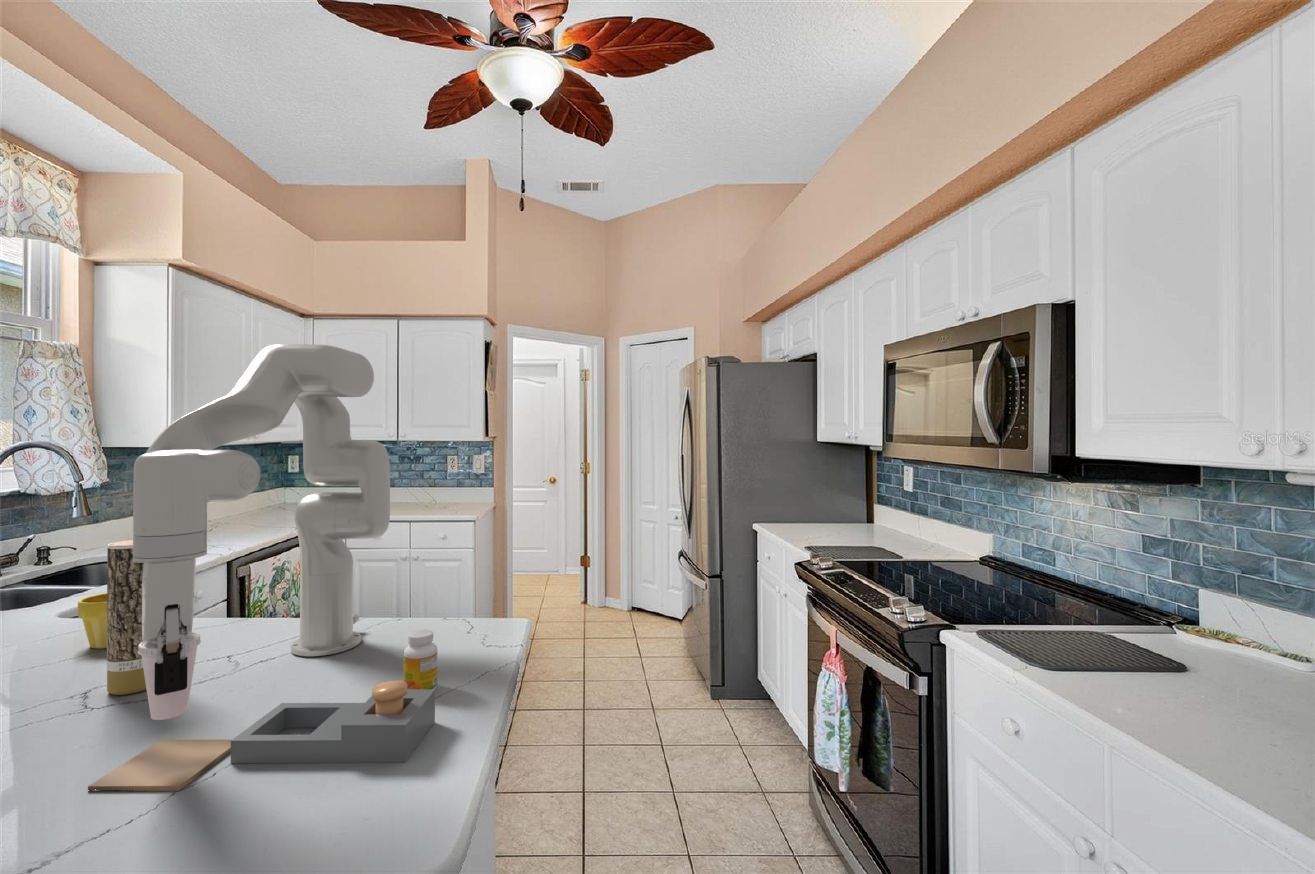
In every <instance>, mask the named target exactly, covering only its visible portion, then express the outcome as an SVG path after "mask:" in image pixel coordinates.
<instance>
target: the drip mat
mask: <svg viewBox="0 0 1315 874" xmlns="http://www.w3.org/2000/svg"><path fill="white" fill-rule="evenodd" d="M231 740H232V738H231V739H160V740H159V741H157V742H156V743H155V744H153V745H151V746H150V747H148V748H145V750H144V751H141V752H140V753H138V754H137V755H135V756H133V757H132V758H130V759H129V760H128V761H126V762H124V763H123V764H121V765H119V766H118V767H116V768H115V769H113V770H111V771H110V772H109V773H107V774H105V775H104V776H102V777H101V778H99V779H97V780H96V781H94V782H92V783H91V784H90V785H87V791H88V790H95V789H96V790H124V791H123V792H126V791H125V790H128V791H127V792H145V790H146V792H155V791H156V792H164V791H165V792H166V791H167V792H170V791H171V792H176V791H178V792H179V791H181V790H182V789H184V788H185V787H186V786H188V785H189V784H190V783H192V782H193V781H194V780H196V779H198V778H199V777H200V776H201V775H202V774H204V773H205V772H206V771H207V770H208V769H210V768H211V767H212V766H214V765H215V764H216V763H218V762H219V761H221V759H223V758H224V757H225V756H227V755H228V754H231ZM129 790H130V791H129ZM132 790H133V791H132Z"/></svg>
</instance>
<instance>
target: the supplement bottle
mask: <svg viewBox="0 0 1315 874" xmlns="http://www.w3.org/2000/svg"><path fill="white" fill-rule="evenodd" d="M407 639H408V640H407V642H408V646H406V647H405V648H404V651H403V679H402V681H404V682H406V683H407V689H435V690H437V687H438V647H437V646H438V645H436V644H435V643H434V642H433V641H434V631H433V630H430V629H419V630H414V631H411V632H410V633H408V636H407Z"/></svg>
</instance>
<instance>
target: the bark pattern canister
mask: <svg viewBox="0 0 1315 874" xmlns="http://www.w3.org/2000/svg"><path fill="white" fill-rule="evenodd" d="M106 550H107V551H106V553H107V554H106V556H107V559H106V562H107V564H106V565H107V567H106V570H107V574H106V576H107V578H106V579H107V580H106V582H107V583H106V584H107V585H106V586H107V587H106V590H107V591H106V593H107V648H106V689H107V690H106V691H107V692H108V694H110V695H113V696H126V695H131V694H138V693H140V692H143V691H144V692H145V691H147V689H146V682H145V676H144V669H143V663H142V656H141V655H140V654H138V645H139V644H140V643H141V642H143V640H142V577H143V566H144V563H138V562H134V561H133V539H127V540H120V541H119V540H118V541H115V542H109V543H108V544H107V549H106Z"/></svg>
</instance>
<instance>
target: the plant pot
mask: <svg viewBox="0 0 1315 874" xmlns="http://www.w3.org/2000/svg"><path fill="white" fill-rule="evenodd" d="M77 616H78V618H79V619H81V620H82V622H83V627H84V630H85V633H86V637H87V641H88V645H89V648H92V649H98V650H99V649H107V592H104V593H103V592H102V593H98V594H94V595H90V596H89V595H88V596H86V597H83V598H80V599H79V600H78V601H77Z"/></svg>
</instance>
